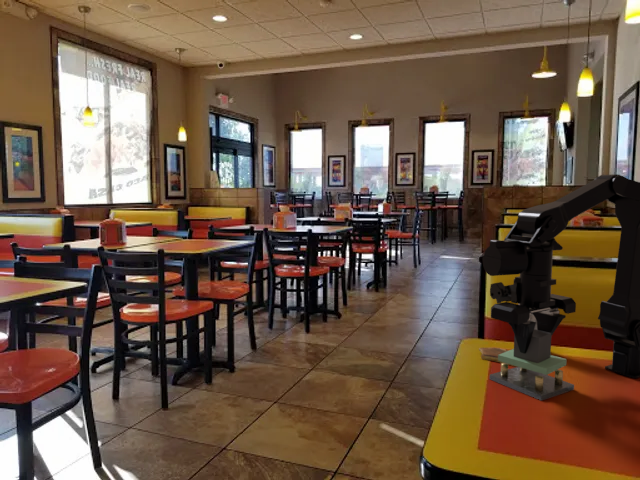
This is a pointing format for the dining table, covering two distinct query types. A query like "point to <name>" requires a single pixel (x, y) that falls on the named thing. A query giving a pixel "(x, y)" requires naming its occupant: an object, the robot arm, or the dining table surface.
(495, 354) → the shard
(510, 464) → the dining table surface
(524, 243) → the robot arm
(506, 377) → the chassis
